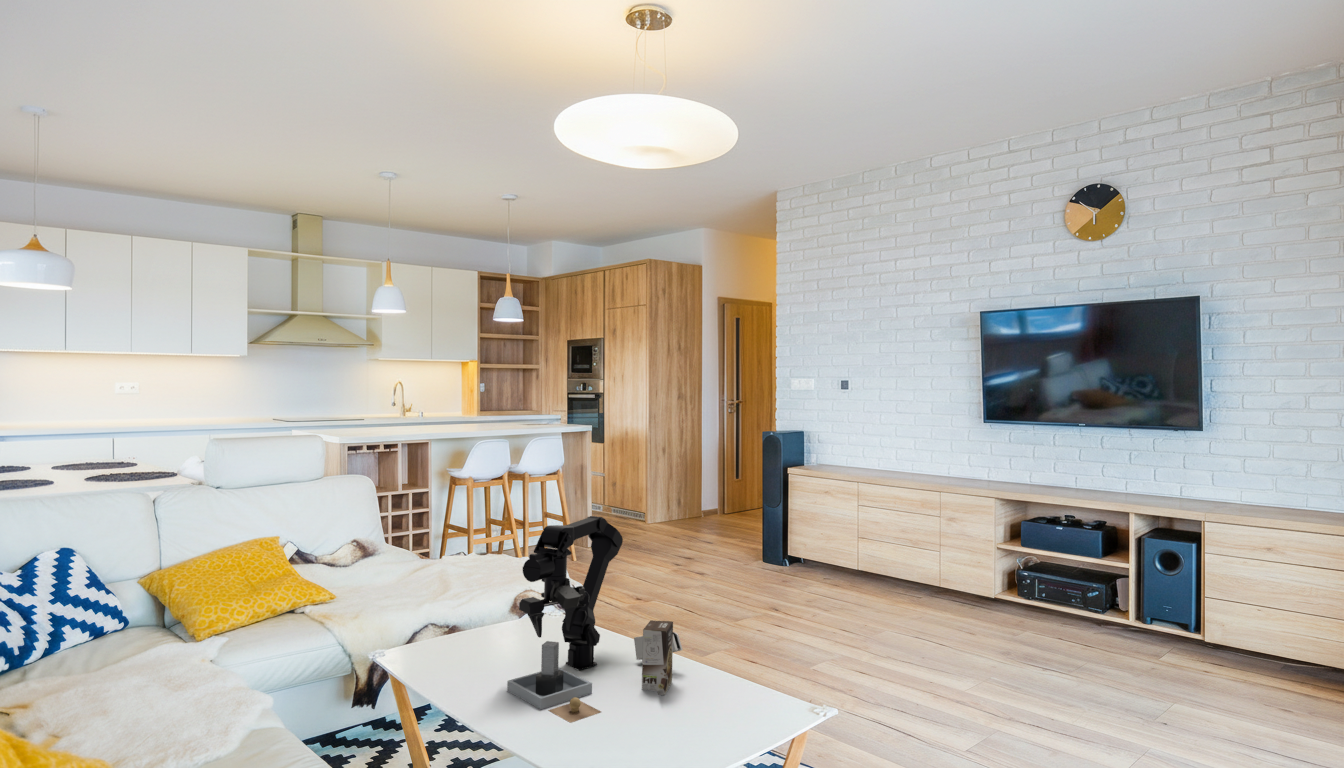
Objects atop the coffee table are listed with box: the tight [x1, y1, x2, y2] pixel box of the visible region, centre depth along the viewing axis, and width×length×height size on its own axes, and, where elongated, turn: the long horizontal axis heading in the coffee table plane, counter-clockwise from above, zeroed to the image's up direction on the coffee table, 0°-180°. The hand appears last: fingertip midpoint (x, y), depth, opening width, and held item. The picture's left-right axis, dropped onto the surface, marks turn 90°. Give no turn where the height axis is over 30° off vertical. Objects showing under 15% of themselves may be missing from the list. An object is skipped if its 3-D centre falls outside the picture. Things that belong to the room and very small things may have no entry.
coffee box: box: [641, 620, 674, 696], centre depth 198 cm, size 9×6×16 cm
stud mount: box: [547, 697, 602, 724], centre depth 180 cm, size 9×9×4 cm
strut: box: [536, 640, 563, 696], centre depth 192 cm, size 5×5×12 cm
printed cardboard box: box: [633, 631, 684, 661], centre depth 212 cm, size 4×10×15 cm
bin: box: [506, 666, 593, 710], centre depth 192 cm, size 15×15×4 cm
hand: (554, 633), depth 203 cm, fingers open, 9 cm apart
